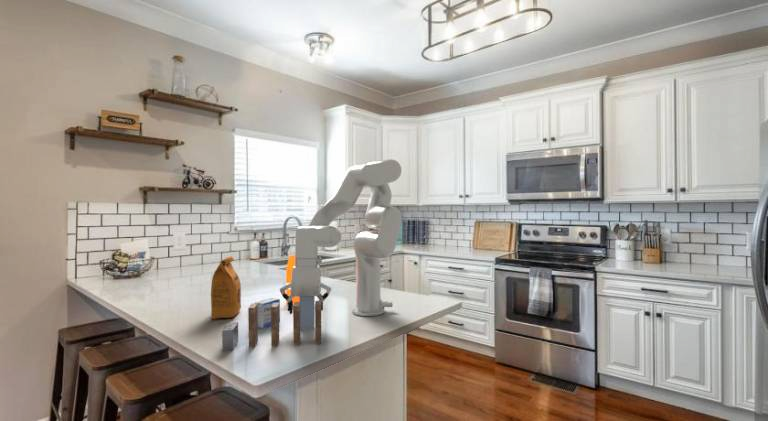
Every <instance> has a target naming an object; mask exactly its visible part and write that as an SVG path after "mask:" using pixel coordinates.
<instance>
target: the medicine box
mask: <svg viewBox="0 0 768 421" xmlns="http://www.w3.org/2000/svg"><path fill="white" fill-rule="evenodd" d="M280 301H281V300H280V298H276V297H271V298H266V299H263V300H259V301H255V302H254V303H258V328H259V329H264V330H265V329H266V328H269V327H271V306H272V304H273V303H278V302H279V324H280V323H281V302H280Z"/></svg>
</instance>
